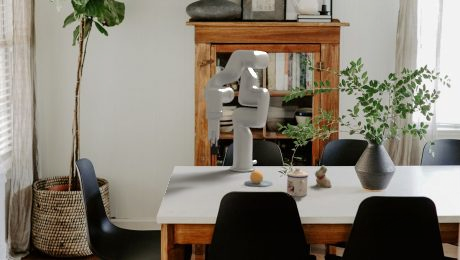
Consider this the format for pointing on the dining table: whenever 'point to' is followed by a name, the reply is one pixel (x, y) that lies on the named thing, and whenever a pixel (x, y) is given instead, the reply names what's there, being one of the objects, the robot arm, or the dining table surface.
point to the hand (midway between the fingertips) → (214, 154)
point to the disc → (262, 184)
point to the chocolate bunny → (322, 178)
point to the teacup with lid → (297, 182)
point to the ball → (256, 177)
